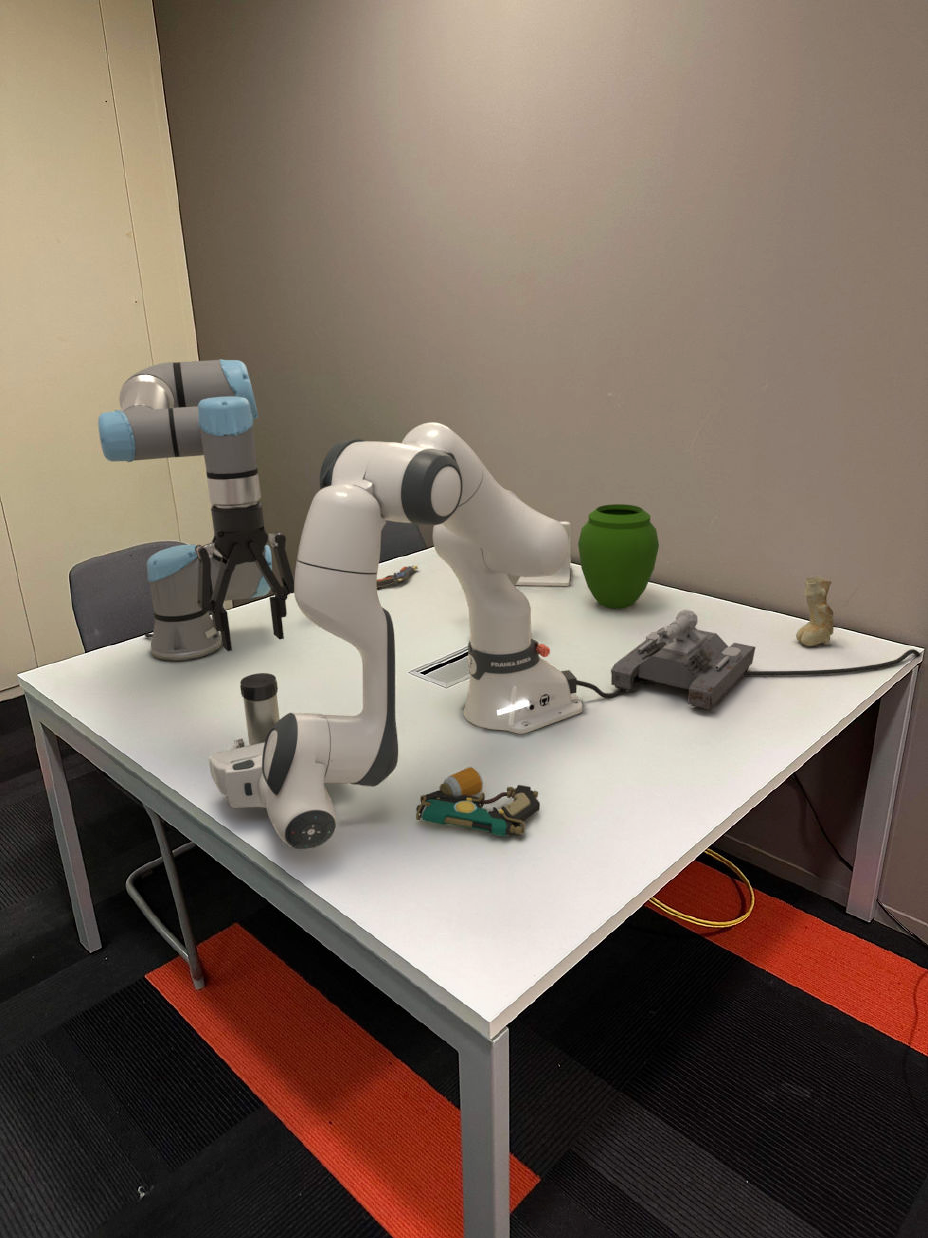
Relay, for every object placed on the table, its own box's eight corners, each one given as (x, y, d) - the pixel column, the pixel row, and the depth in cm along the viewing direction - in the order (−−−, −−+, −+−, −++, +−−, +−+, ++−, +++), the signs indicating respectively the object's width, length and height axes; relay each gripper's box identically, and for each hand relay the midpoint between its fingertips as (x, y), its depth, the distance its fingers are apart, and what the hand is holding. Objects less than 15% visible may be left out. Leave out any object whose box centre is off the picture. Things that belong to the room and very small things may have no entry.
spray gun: (551, 809, 131) (502, 864, 119) (459, 775, 139) (405, 824, 128) (552, 786, 129) (503, 840, 118) (459, 753, 137) (405, 800, 126)
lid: (279, 684, 143) (277, 671, 142) (276, 699, 138) (274, 686, 137) (243, 686, 143) (242, 674, 142) (239, 702, 137) (237, 689, 136)
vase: (599, 587, 227) (601, 497, 218) (668, 600, 216) (673, 505, 208) (562, 608, 212) (564, 513, 204) (634, 623, 202) (639, 523, 193)
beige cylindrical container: (286, 756, 148) (276, 674, 142) (283, 772, 143) (273, 688, 137) (254, 758, 147) (243, 677, 142) (250, 774, 142) (239, 690, 137)
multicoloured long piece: (366, 581, 230) (401, 578, 228) (385, 565, 248) (418, 562, 246) (367, 590, 231) (403, 587, 228) (386, 574, 248) (419, 571, 246)
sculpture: (791, 639, 190) (799, 575, 184) (822, 637, 190) (830, 573, 185) (804, 649, 184) (812, 583, 179) (836, 647, 185) (845, 581, 180)
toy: (661, 649, 187) (665, 584, 181) (753, 669, 176) (760, 600, 170) (609, 692, 167) (612, 620, 162) (708, 717, 156) (715, 641, 151)
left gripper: (291, 489, 137) (305, 622, 145) (160, 508, 127) (182, 649, 135) (309, 497, 131) (322, 635, 139) (173, 517, 121) (195, 665, 129)
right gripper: (350, 742, 132) (327, 706, 144) (215, 773, 124) (202, 733, 136) (353, 778, 134) (330, 739, 146) (220, 810, 127) (207, 767, 139)
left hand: (253, 642), depth 137 cm, fingers open, 8 cm apart
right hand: (267, 736), depth 141 cm, fingers open, 8 cm apart
